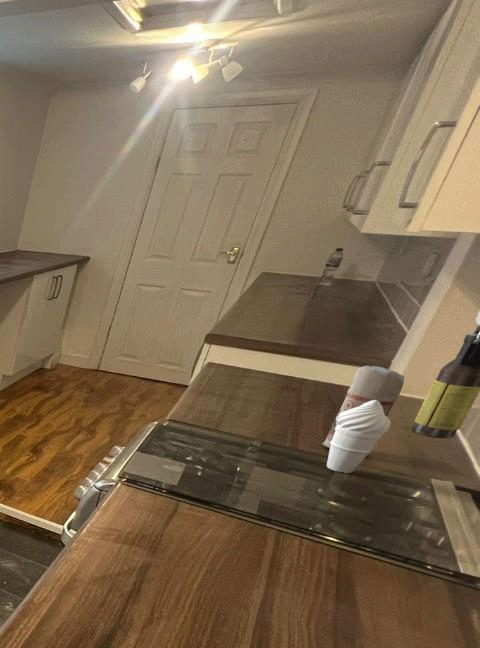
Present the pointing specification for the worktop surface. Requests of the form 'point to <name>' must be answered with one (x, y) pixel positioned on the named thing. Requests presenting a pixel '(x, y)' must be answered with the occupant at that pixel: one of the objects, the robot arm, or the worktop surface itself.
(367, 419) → the ice cream cone
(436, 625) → the worktop surface
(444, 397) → the sauce bottle
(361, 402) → the spray can
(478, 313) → the robot arm
